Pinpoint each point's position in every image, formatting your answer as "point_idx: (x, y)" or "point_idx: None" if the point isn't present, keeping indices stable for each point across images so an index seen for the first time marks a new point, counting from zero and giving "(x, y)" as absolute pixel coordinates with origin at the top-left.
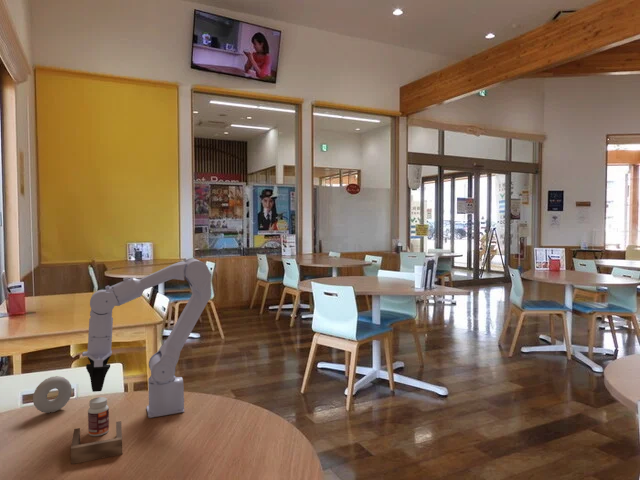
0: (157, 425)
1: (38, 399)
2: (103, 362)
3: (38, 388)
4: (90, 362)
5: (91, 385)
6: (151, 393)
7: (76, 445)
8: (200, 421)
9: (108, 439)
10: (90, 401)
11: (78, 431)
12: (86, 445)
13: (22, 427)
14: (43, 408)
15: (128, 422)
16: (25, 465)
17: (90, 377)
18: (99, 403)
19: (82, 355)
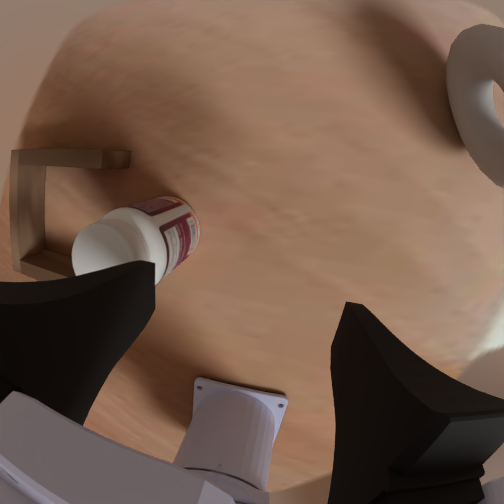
0: (143, 373)
1: (459, 39)
2: (343, 464)
3: (496, 30)
4: (403, 388)
5: (111, 267)
6: (198, 439)
7: (17, 162)
8: (132, 432)
9: (18, 241)
10: (96, 228)
11: (79, 164)
12: (10, 187)
13: (369, 10)
14: (446, 70)
15: (200, 325)
16: (85, 46)
17: (50, 282)
18: (75, 262)
19: (14, 397)
